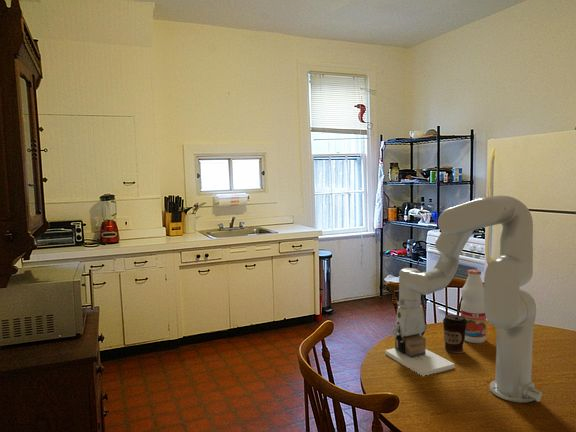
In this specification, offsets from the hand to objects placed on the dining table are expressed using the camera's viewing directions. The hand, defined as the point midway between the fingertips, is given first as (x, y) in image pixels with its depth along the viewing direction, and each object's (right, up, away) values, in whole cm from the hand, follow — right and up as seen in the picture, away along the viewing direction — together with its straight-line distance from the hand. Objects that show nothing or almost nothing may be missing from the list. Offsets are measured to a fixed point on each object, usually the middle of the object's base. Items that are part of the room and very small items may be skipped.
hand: (409, 349), depth 157 cm
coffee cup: (+18, -2, +4) cm, 18 cm away
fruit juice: (+30, 0, +15) cm, 33 cm away
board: (+2, -3, -4) cm, 5 cm away
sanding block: (0, -1, 0) cm, 1 cm away
